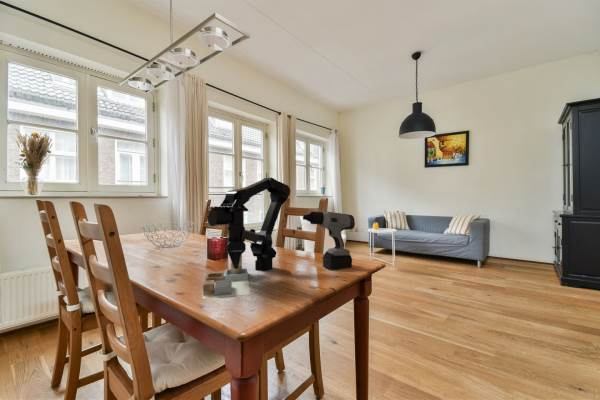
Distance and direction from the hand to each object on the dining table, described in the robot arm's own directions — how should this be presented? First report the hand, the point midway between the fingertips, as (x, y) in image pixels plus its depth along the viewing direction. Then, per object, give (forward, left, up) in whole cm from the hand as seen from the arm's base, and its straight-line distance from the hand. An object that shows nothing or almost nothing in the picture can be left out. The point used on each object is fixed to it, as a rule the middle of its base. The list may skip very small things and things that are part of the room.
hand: (236, 265), depth 98 cm
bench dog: (+9, +14, -4) cm, 17 cm away
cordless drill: (-39, -7, -6) cm, 41 cm away
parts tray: (0, 0, -4) cm, 4 cm away
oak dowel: (0, 0, -4) cm, 4 cm away
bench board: (+3, +7, -6) cm, 9 cm away
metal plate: (+4, +14, -4) cm, 15 cm away
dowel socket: (+8, +1, -4) cm, 9 cm away
